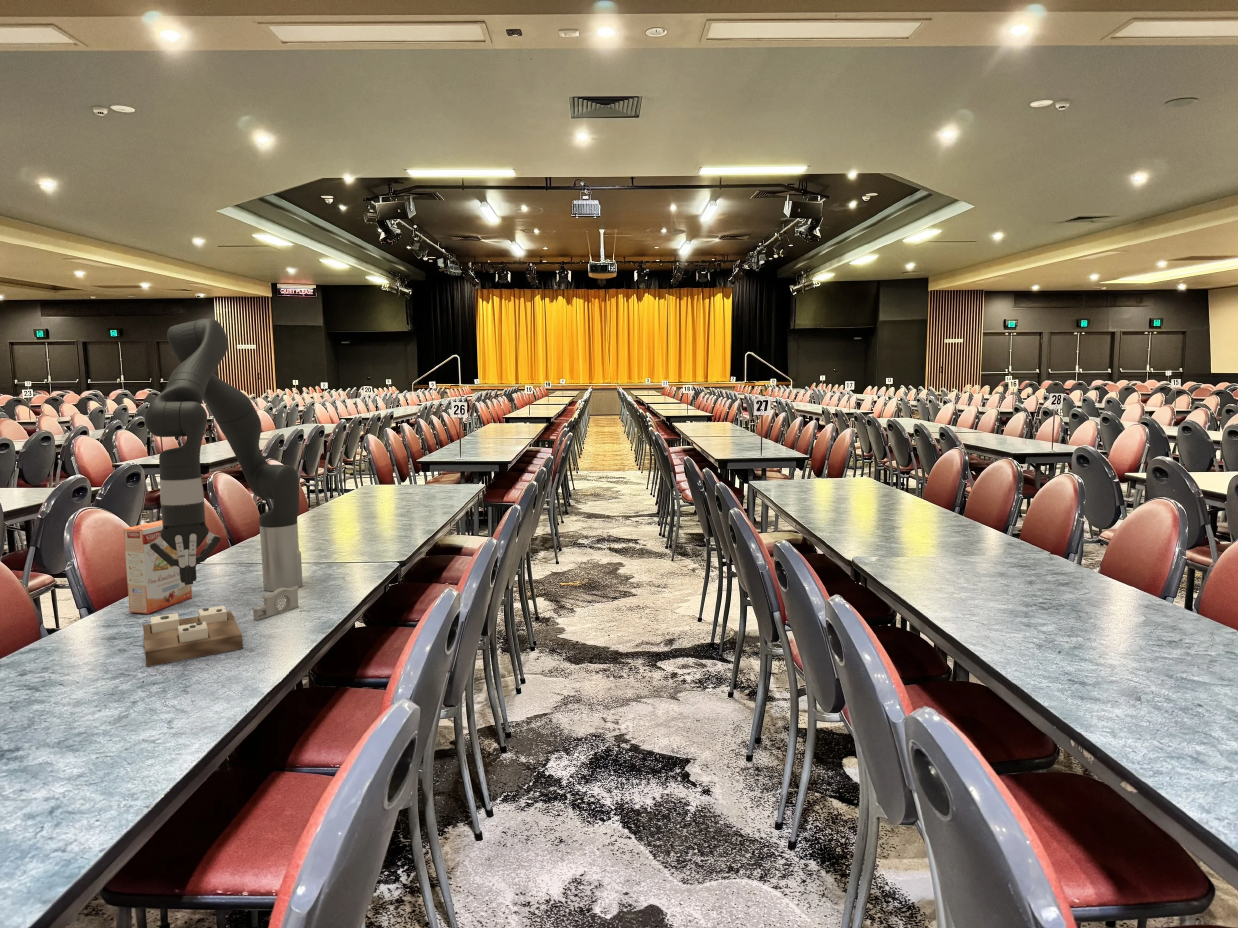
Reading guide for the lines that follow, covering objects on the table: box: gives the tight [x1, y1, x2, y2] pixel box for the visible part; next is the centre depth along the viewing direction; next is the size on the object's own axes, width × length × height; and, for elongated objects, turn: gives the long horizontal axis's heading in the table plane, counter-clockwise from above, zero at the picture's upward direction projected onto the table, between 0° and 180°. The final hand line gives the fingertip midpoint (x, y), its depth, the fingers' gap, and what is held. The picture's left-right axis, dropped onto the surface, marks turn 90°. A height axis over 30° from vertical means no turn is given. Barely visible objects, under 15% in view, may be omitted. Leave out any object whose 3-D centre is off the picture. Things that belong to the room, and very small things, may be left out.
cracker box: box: [123, 519, 193, 615], centre depth 181 cm, size 14×6×21 cm, turn 168°
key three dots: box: [178, 622, 208, 643], centre depth 151 cm, size 5×5×4 cm
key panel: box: [142, 610, 244, 668], centre depth 156 cm, size 17×19×3 cm
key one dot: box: [150, 612, 180, 633], centre depth 157 cm, size 5×5×4 cm
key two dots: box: [198, 605, 227, 624], centre depth 162 cm, size 5×5×4 cm
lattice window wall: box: [251, 586, 300, 621], centre depth 175 cm, size 12×2×6 cm, turn 153°
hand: (188, 583), depth 150 cm, fingers closed
